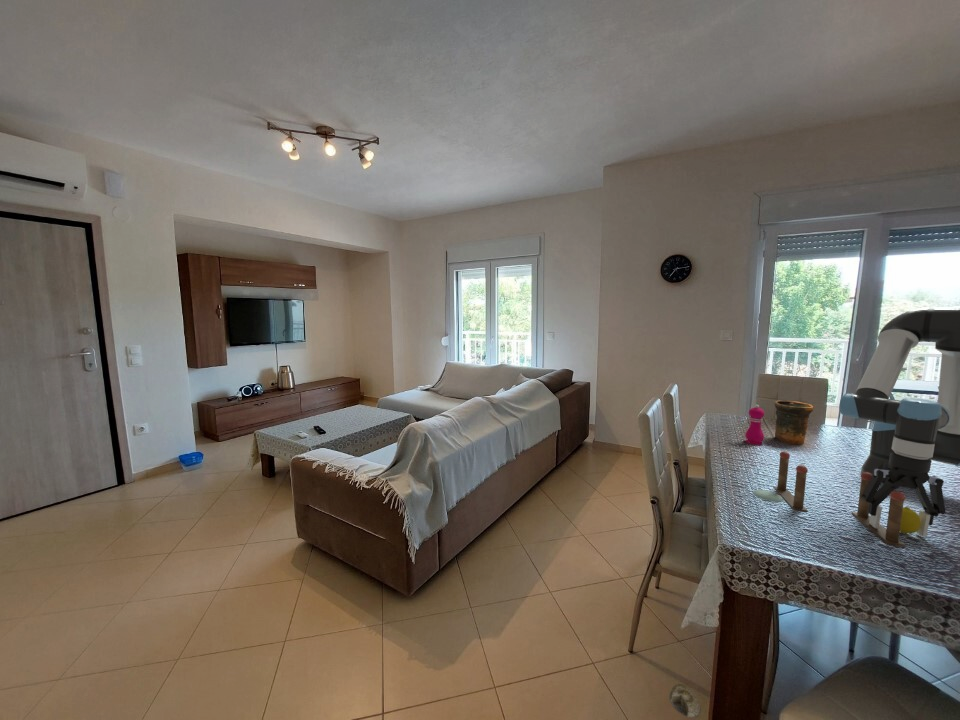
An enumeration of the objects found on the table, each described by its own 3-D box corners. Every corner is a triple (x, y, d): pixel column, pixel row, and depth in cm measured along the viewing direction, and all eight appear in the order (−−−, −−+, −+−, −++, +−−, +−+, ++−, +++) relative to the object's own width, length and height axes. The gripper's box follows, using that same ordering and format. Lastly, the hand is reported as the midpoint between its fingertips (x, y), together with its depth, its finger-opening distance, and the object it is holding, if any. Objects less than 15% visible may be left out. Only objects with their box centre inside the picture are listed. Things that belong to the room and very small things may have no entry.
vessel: (812, 450, 171) (817, 408, 169) (773, 445, 179) (777, 404, 176) (806, 442, 183) (810, 402, 181) (769, 437, 191) (773, 399, 188)
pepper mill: (759, 443, 181) (763, 403, 179) (765, 448, 174) (769, 406, 172) (742, 442, 183) (745, 402, 181) (747, 447, 176) (750, 405, 174)
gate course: (842, 497, 127) (847, 456, 125) (904, 547, 99) (911, 495, 98) (773, 488, 133) (776, 449, 132) (813, 532, 106) (818, 483, 104)
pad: (777, 493, 130) (777, 492, 130) (786, 504, 122) (787, 502, 122) (750, 490, 132) (750, 488, 132) (757, 500, 125) (758, 498, 125)
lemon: (883, 528, 108) (886, 502, 107) (900, 527, 108) (904, 501, 108) (906, 540, 102) (910, 512, 102) (924, 539, 103) (928, 511, 102)
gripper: (954, 456, 103) (939, 532, 105) (852, 444, 110) (840, 515, 113) (978, 466, 96) (961, 547, 99) (867, 452, 103) (854, 527, 106)
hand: (896, 530), depth 106 cm, fingers open, 9 cm apart
